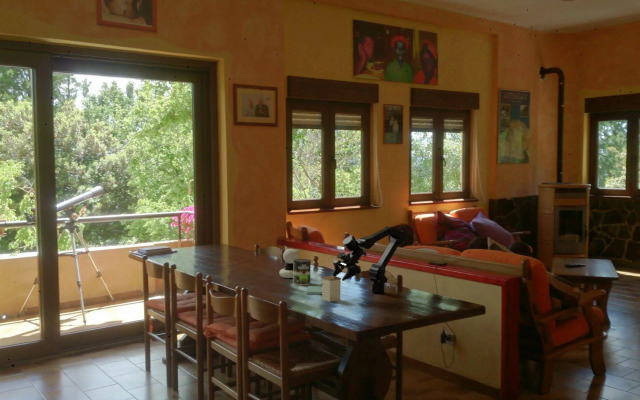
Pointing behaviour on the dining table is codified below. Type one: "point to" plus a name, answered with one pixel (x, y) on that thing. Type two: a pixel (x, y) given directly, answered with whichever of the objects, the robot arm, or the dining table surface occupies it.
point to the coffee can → (301, 271)
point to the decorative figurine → (289, 262)
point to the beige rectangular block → (331, 288)
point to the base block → (314, 290)
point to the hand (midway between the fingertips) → (337, 279)
